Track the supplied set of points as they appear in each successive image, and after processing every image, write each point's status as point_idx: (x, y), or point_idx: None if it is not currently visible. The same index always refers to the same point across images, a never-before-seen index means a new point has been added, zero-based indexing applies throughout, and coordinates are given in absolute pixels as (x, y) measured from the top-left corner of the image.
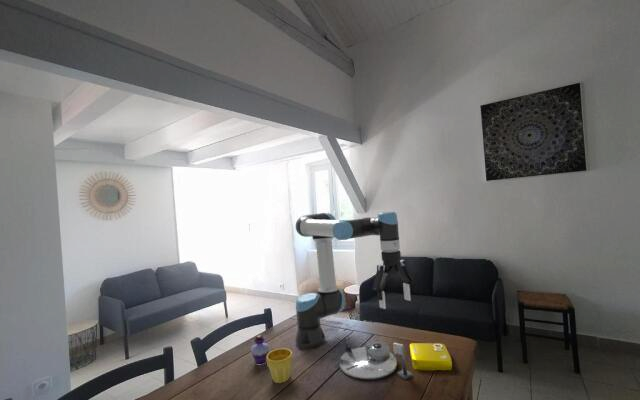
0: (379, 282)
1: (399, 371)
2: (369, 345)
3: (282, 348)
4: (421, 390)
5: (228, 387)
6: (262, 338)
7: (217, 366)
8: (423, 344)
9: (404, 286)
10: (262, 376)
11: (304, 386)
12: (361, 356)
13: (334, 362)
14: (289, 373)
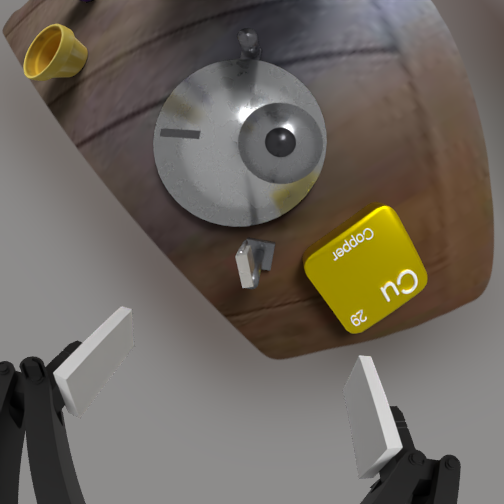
0: (10, 449)
1: (254, 240)
2: (267, 116)
3: (59, 26)
4: (233, 309)
5: None
6: None
7: None
8: (400, 242)
9: (374, 438)
10: None
11: (81, 113)
12: (240, 109)
13: (183, 68)
14: (76, 68)
